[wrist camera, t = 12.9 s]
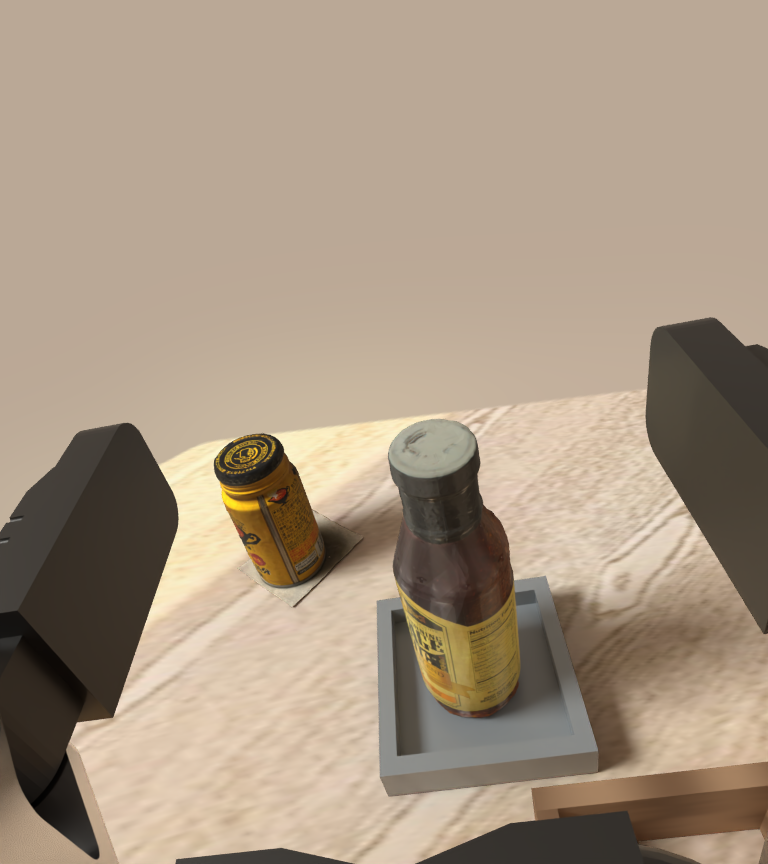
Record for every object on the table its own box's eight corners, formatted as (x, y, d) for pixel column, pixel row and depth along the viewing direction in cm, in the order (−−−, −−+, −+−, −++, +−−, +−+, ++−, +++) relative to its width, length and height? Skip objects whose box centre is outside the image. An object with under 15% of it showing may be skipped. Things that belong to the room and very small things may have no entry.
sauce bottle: (414, 651, 42) (347, 418, 30) (501, 624, 42) (469, 383, 30) (442, 745, 36) (374, 505, 25) (541, 712, 37) (521, 461, 25)
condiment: (238, 570, 52) (184, 464, 45) (308, 508, 57) (269, 404, 50) (292, 609, 48) (242, 498, 41) (364, 539, 52) (330, 429, 45)
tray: (388, 796, 36) (379, 776, 34) (383, 621, 45) (376, 600, 44) (597, 772, 34) (598, 751, 33) (547, 598, 44) (545, 575, 43)
